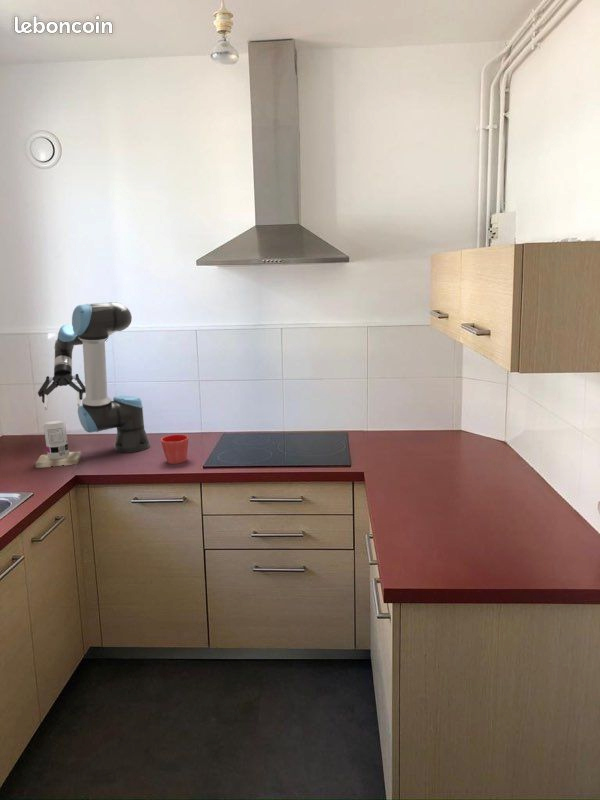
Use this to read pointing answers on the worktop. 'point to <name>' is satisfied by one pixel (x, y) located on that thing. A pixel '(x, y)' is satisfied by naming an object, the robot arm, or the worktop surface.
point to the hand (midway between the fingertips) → (62, 407)
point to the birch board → (58, 460)
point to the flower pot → (175, 448)
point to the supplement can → (56, 439)
